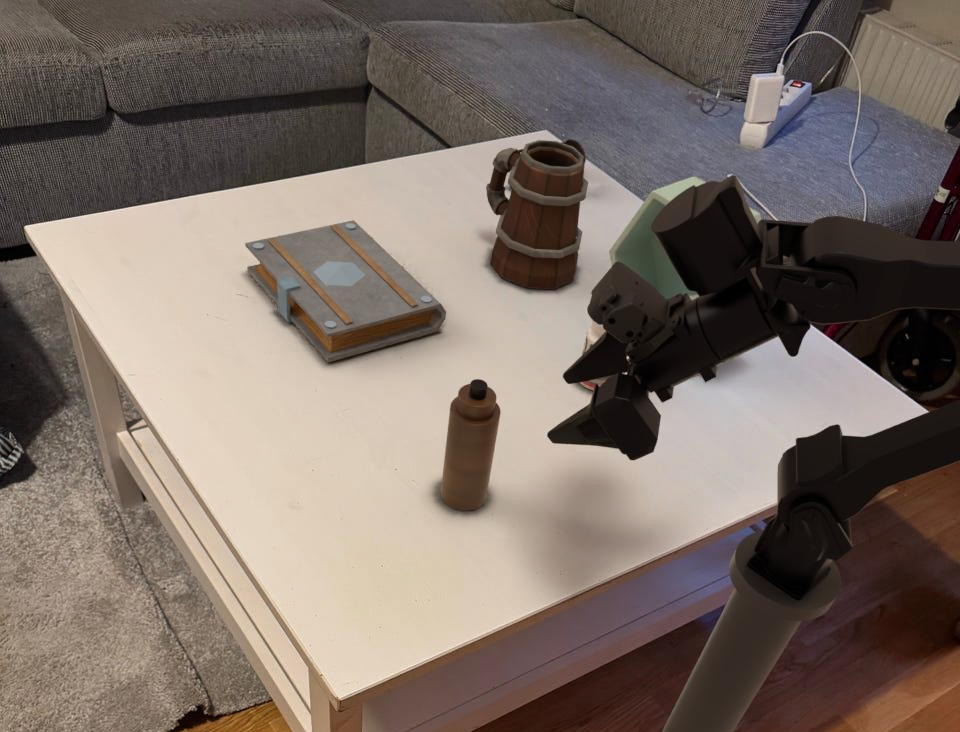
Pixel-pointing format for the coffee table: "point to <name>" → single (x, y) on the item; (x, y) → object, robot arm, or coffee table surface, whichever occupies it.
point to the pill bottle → (591, 338)
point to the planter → (654, 243)
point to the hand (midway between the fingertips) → (557, 407)
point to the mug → (537, 213)
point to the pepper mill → (470, 446)
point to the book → (343, 290)
